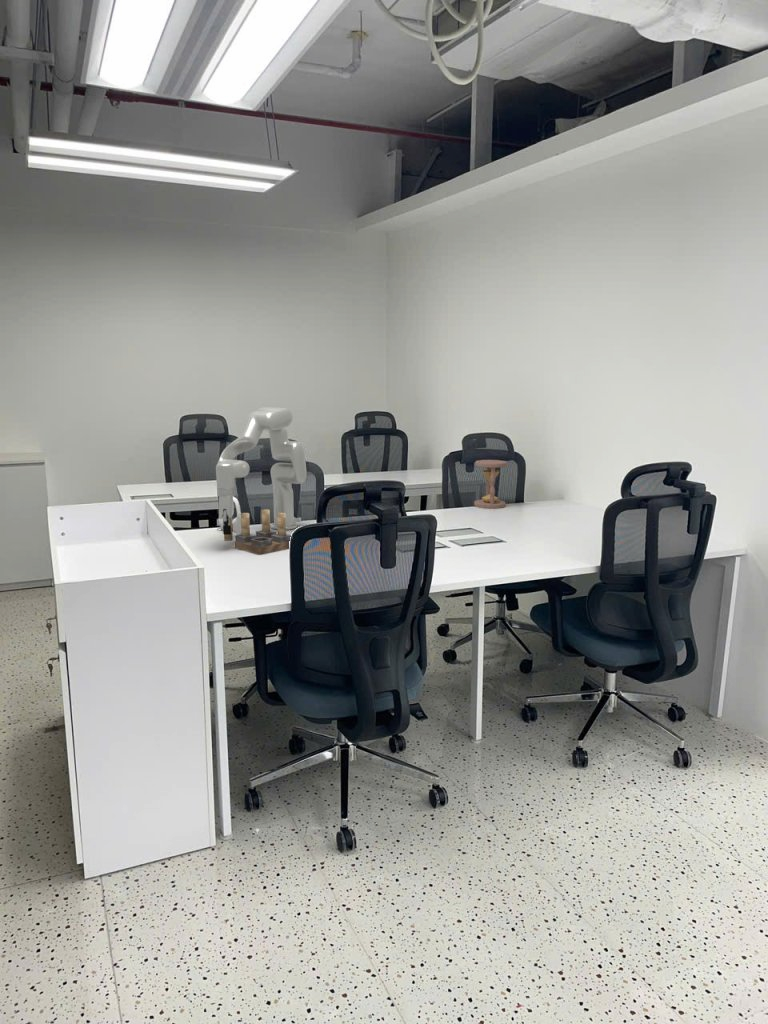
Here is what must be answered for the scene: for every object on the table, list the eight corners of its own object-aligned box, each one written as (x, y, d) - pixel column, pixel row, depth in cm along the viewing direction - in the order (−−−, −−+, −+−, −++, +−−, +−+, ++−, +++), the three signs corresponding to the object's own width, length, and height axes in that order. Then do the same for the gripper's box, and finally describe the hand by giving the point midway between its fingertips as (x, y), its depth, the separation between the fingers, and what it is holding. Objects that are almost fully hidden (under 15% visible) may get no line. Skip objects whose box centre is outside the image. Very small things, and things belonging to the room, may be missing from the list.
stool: (267, 540, 338) (266, 508, 336) (293, 547, 326) (292, 513, 323) (234, 547, 326) (233, 513, 323) (260, 554, 314) (259, 519, 311)
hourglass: (505, 509, 414) (506, 464, 409) (473, 508, 417) (474, 463, 412) (505, 503, 431) (507, 460, 426) (475, 502, 434) (476, 459, 429)
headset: (247, 536, 348) (245, 498, 344) (232, 538, 344) (231, 499, 340) (230, 528, 364) (229, 492, 361) (216, 530, 360) (214, 493, 357)
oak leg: (229, 538, 328) (228, 512, 326) (234, 540, 326) (233, 513, 323) (222, 540, 325) (221, 513, 323) (227, 541, 323) (226, 514, 321)
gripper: (220, 488, 329) (223, 529, 333) (213, 495, 313) (215, 538, 317) (238, 488, 329) (240, 528, 333) (231, 495, 313) (233, 537, 317)
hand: (228, 532), depth 325 cm, fingers closed on oak leg, 3 cm apart
